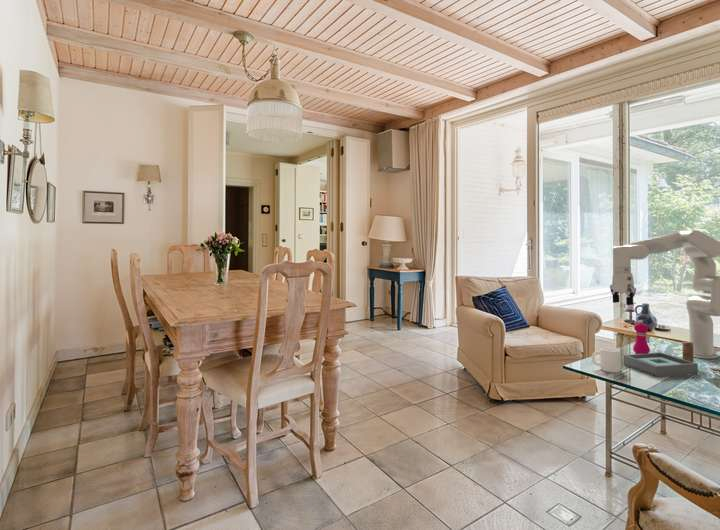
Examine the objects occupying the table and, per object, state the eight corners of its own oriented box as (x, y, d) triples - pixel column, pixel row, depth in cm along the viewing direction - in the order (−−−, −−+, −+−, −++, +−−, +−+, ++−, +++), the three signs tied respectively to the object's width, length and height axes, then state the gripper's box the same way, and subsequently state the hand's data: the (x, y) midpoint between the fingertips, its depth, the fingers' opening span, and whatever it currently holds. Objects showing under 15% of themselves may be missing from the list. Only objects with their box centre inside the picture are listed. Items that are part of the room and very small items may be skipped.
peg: (688, 365, 193) (687, 341, 193) (695, 368, 190) (695, 343, 189) (680, 366, 193) (680, 341, 193) (688, 368, 189) (687, 343, 189)
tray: (661, 362, 201) (660, 352, 201) (697, 374, 181) (697, 363, 181) (623, 364, 199) (623, 355, 199) (656, 377, 180) (656, 366, 179)
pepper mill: (652, 359, 205) (652, 321, 205) (637, 359, 207) (636, 321, 206) (645, 355, 212) (645, 318, 212) (630, 355, 214) (629, 319, 213)
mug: (591, 370, 194) (590, 349, 193) (592, 365, 200) (592, 345, 200) (620, 374, 187) (619, 352, 186) (621, 369, 193) (620, 348, 193)
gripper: (642, 270, 194) (643, 305, 194) (616, 269, 211) (617, 301, 211) (627, 271, 193) (628, 306, 194) (603, 269, 210) (604, 301, 211)
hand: (622, 303), depth 203 cm, fingers open, 9 cm apart
